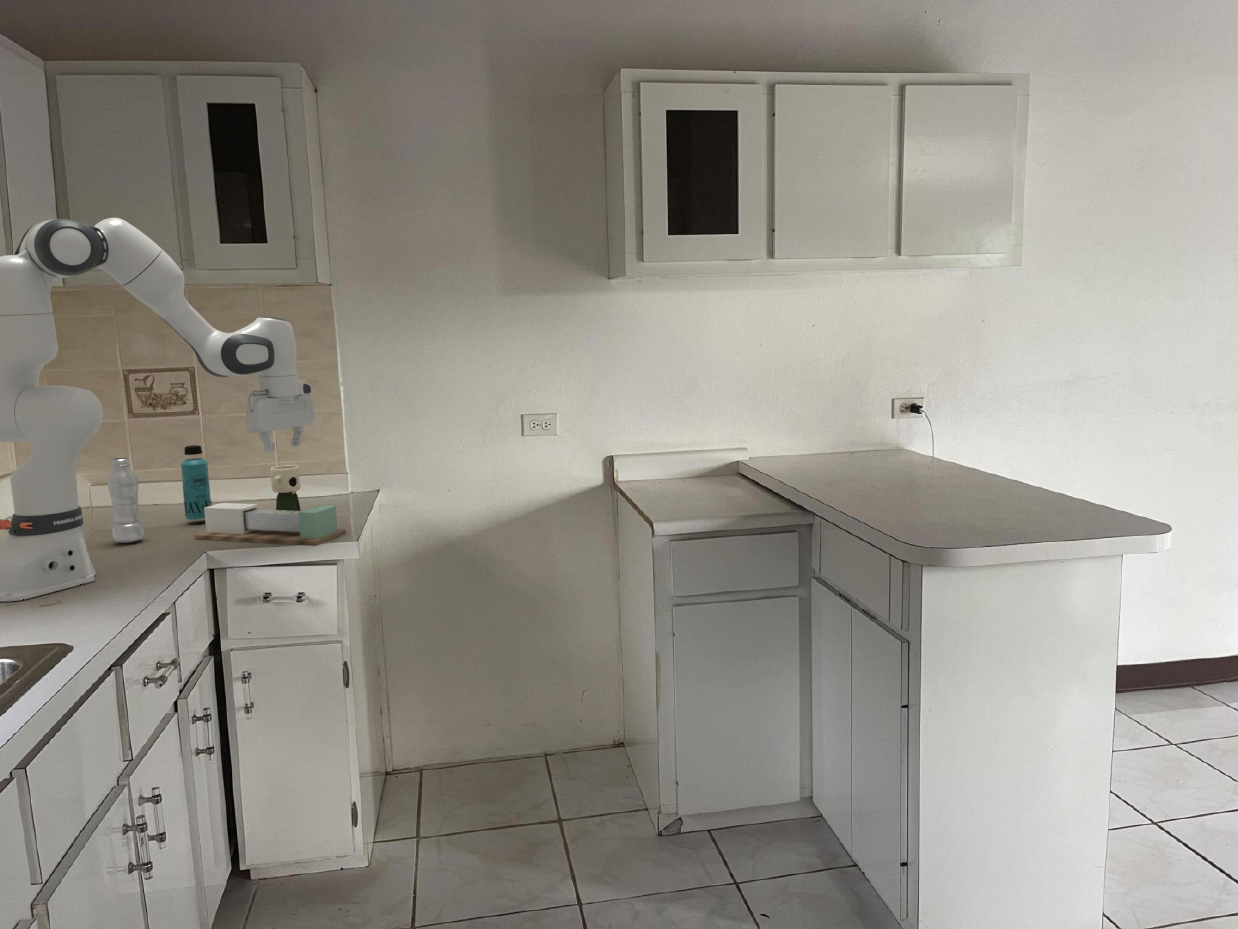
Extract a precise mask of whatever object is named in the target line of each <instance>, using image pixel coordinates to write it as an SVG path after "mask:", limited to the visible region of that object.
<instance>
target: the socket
mask: <svg viewBox="0 0 1238 929" xmlns="http://www.w3.org/2000/svg"><path fill="white" fill-rule="evenodd" d="M336 509H337V506H335V505H316V506H314V507H310V508H307V509H305V510H301V512H298V515H299V527H300V538H305V539H319V538H321V537H324V536H327V535H329V534H332V533H334V532H337V529H338V520H337V510H336Z"/></svg>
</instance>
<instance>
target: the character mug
mask: <svg viewBox="0 0 1238 929" xmlns="http://www.w3.org/2000/svg"><path fill="white" fill-rule="evenodd" d="M269 470H270V480H271V482H270V483H271V490H272V492H273V493H277V495H276V499H275V500H276V501H275V504H276V505H275V510H286V511H302V510H301V505H300V502H299V497H298V493H297V491H299V490H301V487H302V486H301V485H302V484H301V482H300V476H301V474H300V473H301V472H300V466H299V465H298V464H297V465H295V464H285V465H284V464H283V465H276V466H271V467H270V469H269Z"/></svg>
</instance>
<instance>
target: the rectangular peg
mask: <svg viewBox="0 0 1238 929" xmlns="http://www.w3.org/2000/svg"><path fill="white" fill-rule="evenodd" d="M301 511H302V510H301ZM301 511H286V510H276V509H259V508H258V509H254V510H251V511H247V512H244V522H245V529H252V530H273V531H293V532H300V527H299V515H298V512H301Z"/></svg>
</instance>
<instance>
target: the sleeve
mask: <svg viewBox="0 0 1238 929" xmlns="http://www.w3.org/2000/svg"><path fill="white" fill-rule="evenodd" d="M254 509H259V504H258V503H235V502H234V503H231V502H230V503H229V502H221V503H217V504H213V505H212V506H209V507H205V508H204V512H205V518H204V522H205V532H209V533H229V534H246V533H249V532H252V531H255V530H252V529H245V522H244V512H247V511H251V510H254Z"/></svg>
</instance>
